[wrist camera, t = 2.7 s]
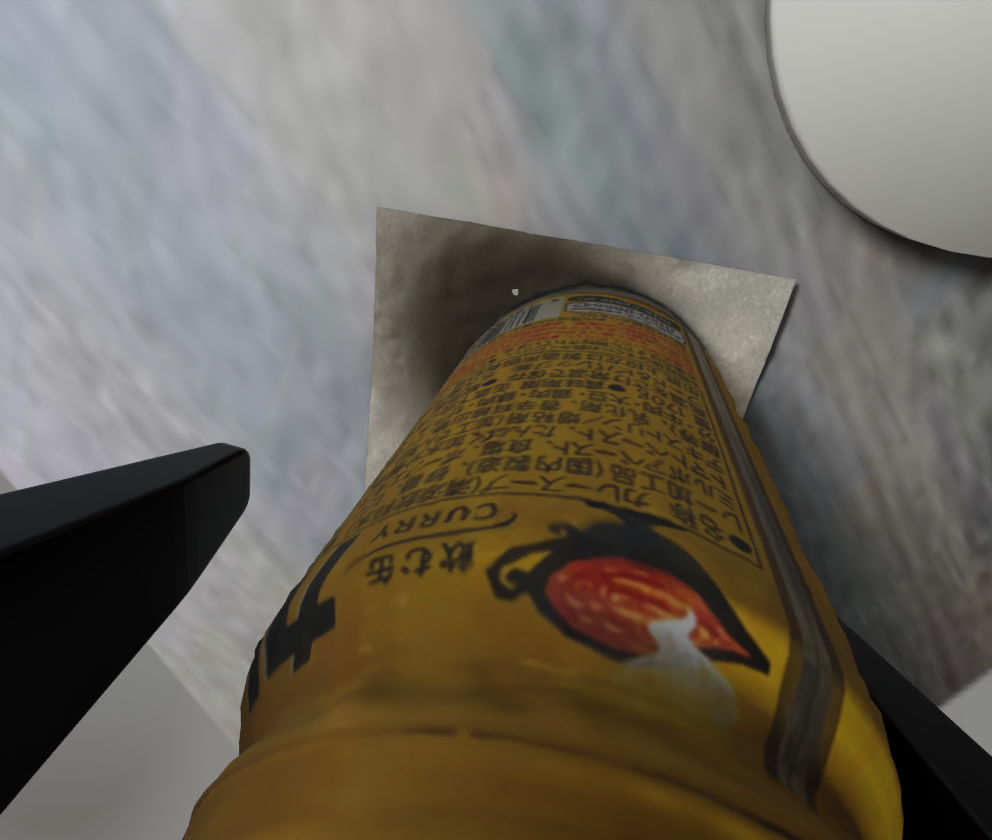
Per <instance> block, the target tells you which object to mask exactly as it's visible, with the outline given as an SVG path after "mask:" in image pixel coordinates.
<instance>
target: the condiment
mask: <svg viewBox="0 0 992 840" xmlns="http://www.w3.org/2000/svg"><path fill="white" fill-rule="evenodd" d="M376 252H377V261H376V285H375V305H374V345H373V359H372V378H371V383H372V386H373V391H372V394H371V402H370V410H369V427H368V457H367V464H366V484H365V494H364V495H363V496H362V498H361V499H360V500H359V502H358V503H357V505H356V506H355V507H354V509H353V510H352V511H351V513H350V514H349V516H348V517H347V518H346V520H345V521H344V522H343V523H342V525H341V526H340V527H339V528H338V529H337V530H336V532H335V534H334V535H333V537H332V539H331V540H330V541H329V542H328V543H327V544H326V546H325V547H324V548H323V550H322V552H321V553H320V554H319V555H318V557H317V558H316V560H315V561H314V563H313V564H312V565H311V566H310V567H309V569H308V570H307V572H306V574H305V576H304V577H303V579H302V580H301V582H300V583H299V584H298V585H297V586H296V587H295V588H294V589H293V590H292V591H291V592H290V594H289V596H288V598H287V600H286V602H285V604H284V605H283V606H282V608H281V609H280V611H279V612H278V614H277V615H276V617H275V618H274V620H273V622H272V623H271V625H270V626H269V628H268V629H267V631H266V632H265V635H264V637H263V638H262V639H261V640H260V641H259V642H258V645H257V647H256V649H255V657H254V660H253V662H252V664H251V667H250V670H249V672H248V675H247V679H246V684H245V689H244V694H243V698H242V703H241V731H240V740H239V756H238V757H237V758H236V759H234V760H233V761H232V762H231V763H230V764H229V765H228V766H227V767H226V768H225V770H224V771H223V772H222V773H221V774H220V776H219V777H218V778H217V779H216V780H215V781H214V782H213V783H212V785H210V786H209V787H208V788H207V789H206V790H205V792H204V793H203V794H202V796H201V797H200V798H199V800H198V801H197V803H196V804H195V806H194V809H193V811H192V815H191V819H190V823H189V826H188V828H187V831H186V833H185V835H184V837H183V839H182V840H902V834H903V822H904V818H903V810H902V803H901V786H900V782H899V778H898V774H897V770H896V766H895V763H894V761H893V759H892V757H891V753H890V749H889V744H888V739H887V735H886V731H885V727H884V723H883V719H882V714H881V712H880V710H879V709H878V708H877V706H876V705H875V704H874V702H873V701H872V700H871V698H870V695H869V692H868V689H867V686H866V684H865V682H864V680H863V679H862V677H861V676H860V675H859V672H858V669H857V666H856V663H855V660H854V657H853V654H852V650H851V647H850V645H849V642H848V639H847V637H846V635H845V633H844V631H843V629H842V628H841V626H840V624H839V622H838V620H837V617H836V612H835V610H834V609H833V607H832V606H831V604H830V601H829V599H828V597H827V595H826V592H825V590H824V588H823V585H822V583H821V581H820V580H819V578H818V577H817V575H816V574H815V573H814V571H813V570H812V568H811V567H810V565H809V562H808V560H807V558H806V557H805V555H804V553H803V551H802V549H801V547H800V544H799V541H798V537H797V534H796V532H795V530H794V528H793V526H792V524H791V522H790V520H789V511H788V509H787V508H786V506H785V505H784V503H783V501H782V500H781V498H780V496H779V492H778V490H777V488H776V486H775V484H774V482H773V480H772V479H771V477H770V475H769V472H768V470H767V467H766V466H765V464H764V461H763V459H762V457H761V454H760V452H759V450H758V448H757V447H756V445H755V444H754V443H753V441H752V440H751V437H750V430H749V428H748V425H747V424H746V423H745V422H744V421H743V417H744V415H745V413H746V410H747V407H748V404H749V401H750V398H751V396H752V393H753V391H754V388H755V385H756V383H757V380H758V378H759V376H760V374H761V371H762V369H763V367H764V364H765V361H766V358H767V356H768V354H769V352H770V349H771V346H772V343H773V340H774V338H775V335H776V333H777V330H778V328H779V325H780V322H781V320H782V317H783V314H784V312H785V309H786V306H787V304H788V301H789V298H790V295H791V292H792V289H793V287H794V284H795V281H796V280H794V279H788V278H783V277H777V276H771V275H766V274H761V273H755V272H750V271H744V270H738V269H733V268H727V267H722V266H717V265H711V264H706V263H700V262H694V261H688V260H680V259H675V258H671V257H666V256H661V255H655V254H650V253H644V252H639V251H633V250H625V249H619V248H615V247H610V246H604V245H597V244H591V243H584V242H579V241H576V240H568V239H561V238H554V237H547V236H541V235H535V234H529V233H525V232H521V231H515V230H510V229H504V228H499V227H493V226H487V225H482V224H477V223H472V222H466V221H459V220H453V219H446V218H439V217H431V216H426V215H420V214H415V213H410V212H405V211H399V210H393V209H388V208H382V207H377V227H376ZM513 289H518V295H517V296H515V295H513V293H512V290H513Z"/></svg>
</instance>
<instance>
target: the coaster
mask: <svg viewBox="0 0 992 840" xmlns="http://www.w3.org/2000/svg"><path fill="white" fill-rule="evenodd" d="M764 21H765V36H766V50H767V62H768V66H769V71H770V76H771V81H772V86H773V91H774V96H775V99H776V102H777V105H778V107H779V110H780V113H781V116H782V119H783V122H784V124H785V127H786V129H787V131H788V133H789V135H790V137H791V139H792V141H793V143H794V144H795V146H796V148H797V150H798V152H799V154H800V156H801V157H802V159H803V160H804V161H805V163H806V164H807V165H808V167H809V168H810V169H811V171H812V172H813V173H814V175H815V176H816V177H817V179H818V180H819V181H820V183H821V184H822V185H824V186H825V187H826V188H827V189H828V190H829V191H830V192H831V193H832V194H833V195H834V196H835V197H836V198H837V199H838V200H839V201H840V202H841V203H842V204H844V205H845V206H847V207H848V208H849V209H851V210H852V211H854V212H855V213H857V214H858V215H860V216H861V217H863V218H864V219H866V220H867V221H868V222H870V223H872V224H875V225H877V226H879V227H881V228H883V229H885V230H887V231H889V232H891V233H893V234H896V235H898V236H901V237H904V238H908V239H911V240H914V241H917V242H921V243H924V244H927V245H930V246H934V247H937V248H941V249H944V250H948V251H951V252H958V253H964V254H970V255H976V256H982V257H991V258H992V0H766V1H765V20H764Z"/></svg>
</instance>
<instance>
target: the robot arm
mask: <svg viewBox="0 0 992 840" xmlns="http://www.w3.org/2000/svg"><path fill="white" fill-rule="evenodd" d="M249 496H250V456H249V453H248V452H247V451H246V450H245V449H244V448H240V447H237V446H233V445H230V444H226V443H216V444H212V445H207V446H203V447H199V448H195V449H190V450H186V451H182V452H178V453H174V454H169V455H165V456H161V457H157V458H152V459H148V460H144V461H140V462H135V463H131V464H127V465H123V466H118V467H114V468H110V469H106V470H101V471H97V472H93V473H89V474H85V475H80V476H76V477H72V478H68V479H63V480H59V481H55V482H51V483H46V484H42V485H38V486H34V487H29V488H25V489H21V490H17V491H12V492H8V493H4V494H0V814H1V813H2V812H3V811H4V810H5V809H6V808H7V806H8V805H9V804H10V803H11V801H12V800H13V799H14V798H15V797H16V796H17V794H18V793H19V792H20V791H21V790H22V789H23V787H24V786H25V785H26V784H27V783H28V781H29V780H30V779H31V778H32V776H34V774H35V773H36V772H37V771H38V770H39V768H40V767H41V766H42V765H43V764H44V763H45V761H46V760H47V759H48V758H49V757H50V756H51V754H52V753H53V752H54V751H55V750H56V749H57V747H58V746H59V745H60V744H61V743H62V741H63V740H64V739H65V738H66V737H67V736H68V734H69V733H70V732H71V731H72V730H73V728H74V727H75V726H76V725H77V724H78V723H79V721H80V720H81V719H82V718H83V717H84V715H85V714H86V713H87V712H88V710H89V709H90V708H91V707H92V706H93V705H94V704H95V703H96V701H97V700H98V699H99V698H100V696H101V695H102V694H103V693H104V692H105V691H106V690H107V688H108V687H109V686H110V685H111V684H112V682H113V681H114V680H115V679H116V678H117V676H118V675H119V674H120V673H121V672H122V671H123V669H124V668H125V667H126V666H127V665H128V664H129V662H130V661H131V660H132V659H133V658H134V656H135V655H136V654H137V653H138V652H139V651H140V649H141V648H142V647H143V646H144V644H146V642H147V641H148V640H149V639H150V638H151V636H152V635H153V634H154V633H155V632H156V631H157V629H158V628H159V627H160V626H161V625H162V623H163V622H164V621H165V620H166V619H167V618H168V616H169V615H170V614H171V613H172V612H173V610H174V609H175V608H176V607H177V606H178V605H179V603H180V602H181V601H182V600H183V598H184V597H185V596H186V595H187V593H188V592H189V591H190V589H191V588H192V587H193V585H194V584H195V583H196V581H197V580H198V578H199V577H200V575H201V574H202V573H203V571H204V570H205V568H206V567H207V565H208V564H209V562H210V561H211V559H212V558H213V556H214V555H215V553H216V552H217V550H218V549H219V547H220V546H221V545H222V543H223V542H224V540H225V539H226V537H227V536H228V534H229V533H230V531H231V530H232V528H233V527H234V525H235V524H236V522H237V521H238V520H239V518H240V517H241V515H242V514H243V512H244V510H245V509H246V507H247V504H248V501H249ZM836 617H837V616H836ZM837 620H838V622H839V624H840V626H841V628H842V629H843V631H844V633H845V635H846V637H847V639H848V642H849V645H850V647H851V650H852V654H853V657H854V660H855V663H856V666H857V669H858V672H859V675H860V676H861V677H862V679H863V680H864V682H865V684H866V686H867V689H868V692H869V695H870V698H871V700H872V701H873V702H874V704H875V705H876V706H877V708H878V709H879V710H880V712H881V714H882V719H883V723H884V727H885V731H886V735H887V739H888V744H889V749H890V753H891V757H892V759H893V761H894V763H895V766H896V770H897V774H898V778H899V782H900V786H901V803H902V810H903V818H904V822H903V834H902V840H992V756H990V755H989V754H988V753H987V752H986V751H985V750H984V749H983V748H982V747H981V746H979V745H978V744H977V743H976V742H975V741H974V740H973V739H971V737H969V736H968V735H967V734H966V733H965V732H964V731H963V730H962V729H961V728H960V727H959V726H957V725H956V724H955V723H954V722H953V721H952V720H951V719H950V718H949V717H947V716H946V715H945V714H944V713H943V712H942V711H941V710H940V709H939V708H938V707H937V706H935V705H934V704H933V703H932V702H931V701H930V700H929V699H928V698H927V697H925V696H924V695H923V694H922V693H921V692H920V691H919V690H918V689H917V688H916V687H914V686H913V685H912V684H911V683H910V682H909V681H908V680H907V679H906V678H905V677H903V676H902V675H901V674H900V673H899V672H898V671H897V670H896V669H895V668H894V667H892V666H891V665H890V664H889V663H888V662H887V661H886V660H885V659H884V658H883V657H881V656H880V655H879V654H878V653H877V652H876V651H875V650H874V649H873V648H872V647H870V646H869V645H868V644H867V643H866V642H865V641H864V640H863V639H862V638H861V637H859V636H858V635H857V634H856V633H855V632H854V631H853V630H852V629H851V628H850V627H848V626H847V625H846V624H845V623H844V622H843V621H842V620H841V619H840V618H838V617H837Z"/></svg>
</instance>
